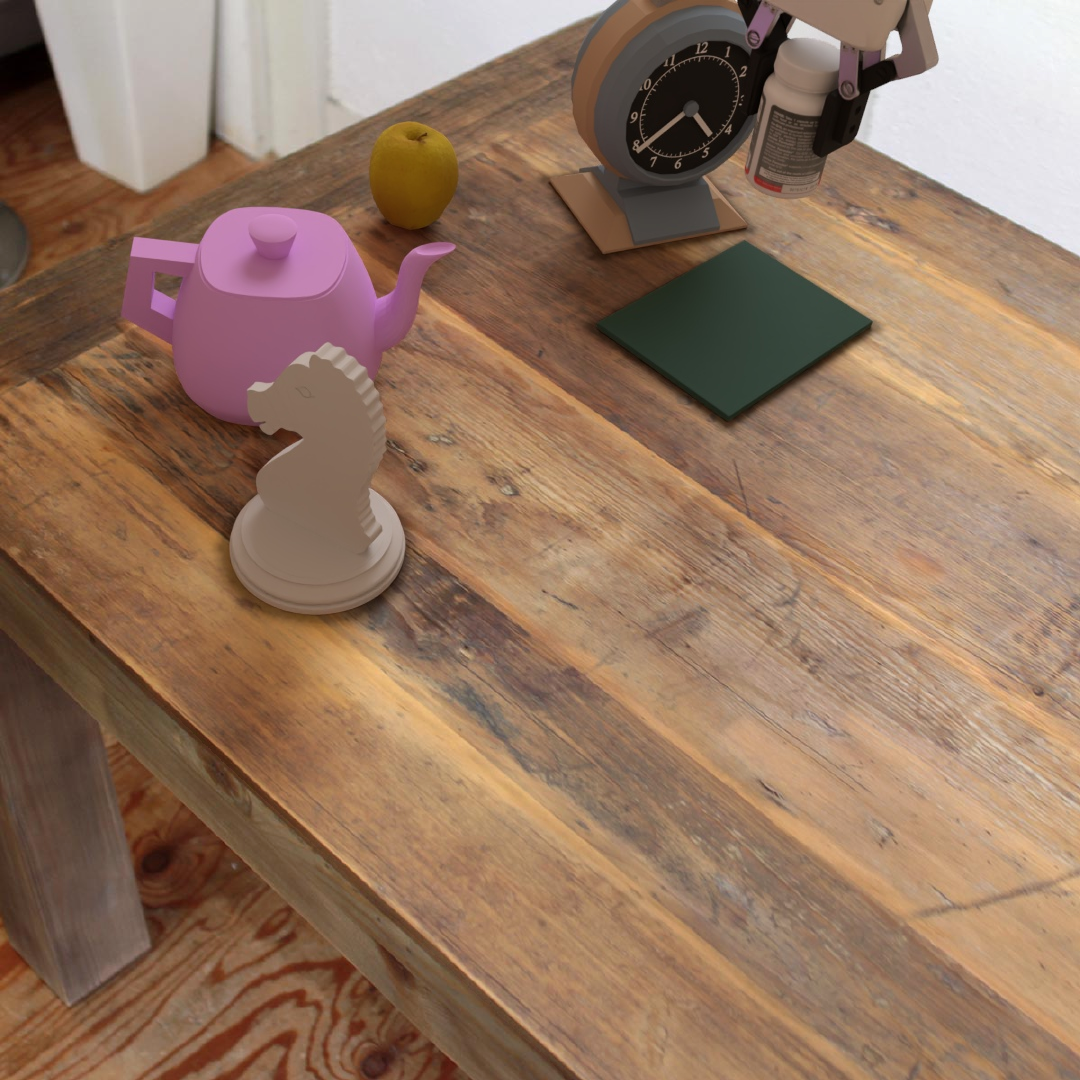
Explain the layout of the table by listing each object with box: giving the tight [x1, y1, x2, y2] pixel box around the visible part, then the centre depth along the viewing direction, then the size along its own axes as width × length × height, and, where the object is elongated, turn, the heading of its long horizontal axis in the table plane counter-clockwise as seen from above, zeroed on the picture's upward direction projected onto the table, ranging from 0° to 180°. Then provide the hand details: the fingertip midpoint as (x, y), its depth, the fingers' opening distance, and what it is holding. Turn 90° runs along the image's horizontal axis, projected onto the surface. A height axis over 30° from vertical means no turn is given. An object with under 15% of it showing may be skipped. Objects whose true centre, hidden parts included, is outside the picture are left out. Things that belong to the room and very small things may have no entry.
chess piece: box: [228, 342, 406, 616], centre depth 70 cm, size 10×10×15 cm
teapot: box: [120, 206, 457, 428], centre depth 82 cm, size 13×20×11 cm
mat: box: [595, 239, 874, 422], centre depth 93 cm, size 16×12×1 cm
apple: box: [368, 120, 460, 231], centre depth 95 cm, size 6×6×8 cm
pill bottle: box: [743, 37, 840, 200], centre depth 80 cm, size 5×5×8 cm
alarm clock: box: [549, 0, 758, 255], centre depth 96 cm, size 14×10×18 cm
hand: (795, 125), depth 80 cm, fingers closed on pill bottle, 4 cm apart
